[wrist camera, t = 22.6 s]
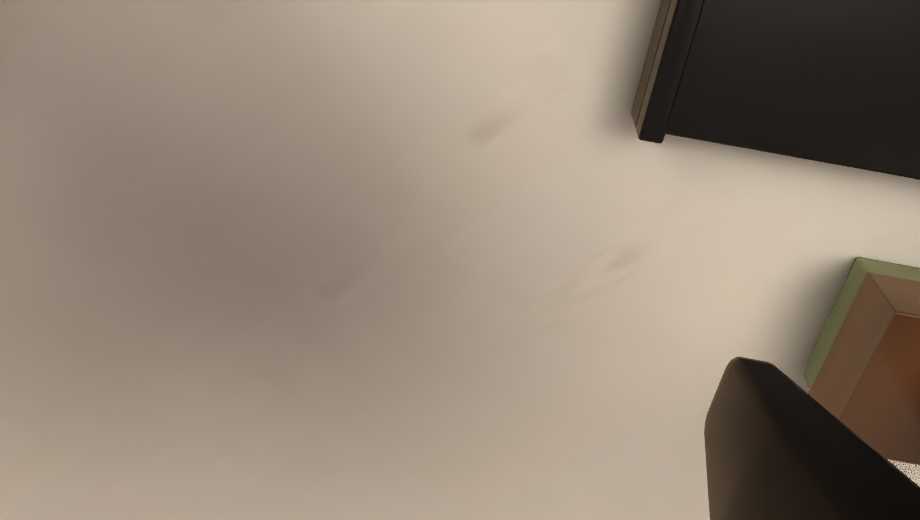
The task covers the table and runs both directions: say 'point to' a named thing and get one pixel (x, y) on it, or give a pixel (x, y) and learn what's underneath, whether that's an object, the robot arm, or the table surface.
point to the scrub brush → (873, 358)
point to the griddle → (788, 79)
